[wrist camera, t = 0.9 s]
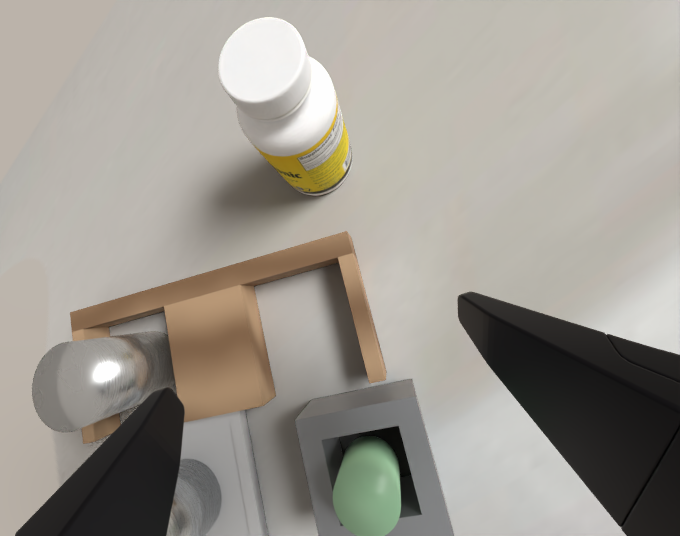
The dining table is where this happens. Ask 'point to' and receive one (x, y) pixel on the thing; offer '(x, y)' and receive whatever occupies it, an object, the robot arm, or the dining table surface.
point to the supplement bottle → (286, 105)
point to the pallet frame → (228, 328)
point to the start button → (368, 488)
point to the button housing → (361, 416)
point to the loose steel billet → (194, 500)
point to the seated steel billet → (100, 378)
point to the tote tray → (229, 471)
